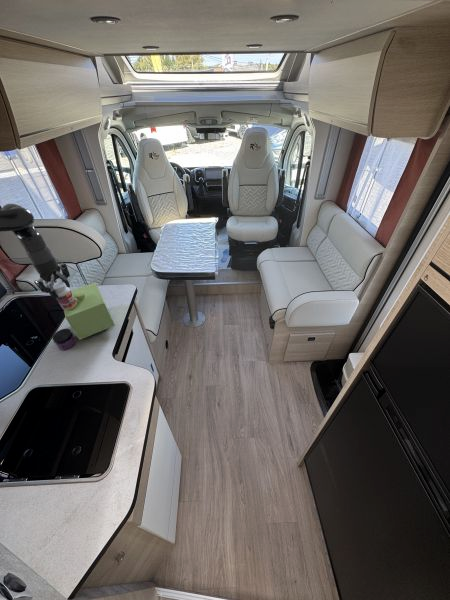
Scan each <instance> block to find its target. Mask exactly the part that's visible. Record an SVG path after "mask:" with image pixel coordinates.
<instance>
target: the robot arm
mask: <svg viewBox="0 0 450 600" xmlns="http://www.w3.org/2000/svg"><path fill="white" fill-rule="evenodd" d="M34 222H35V217H34V215H33V213H32V212H31V211H30V210H29V209H27V208H25V207H24V206H21V205H19V204H16V203H7V204H5V205H3V206H2V207H1V209H0V232H12V233H13V235H15V237H16V238H17V241H18V242H19V243H20V245H21V247H22V248H23V250H24V251H25V252H24V253H26V256H27V258H28V260H29V261H30V263H31V264H32V266H33V268H34V269H35V271H36V272H37V274H38V275H39V278H38V279H37V280H36V279H35V280H34V281H33V283H34V284H35V286H36V287H37V288H38V289H39V290H40V291H41V292H42V293H45V294H49V296H50V297H52V298H55V299H56V298H57V297H58V295H57V294H56V292H55V290H53V286H54V284H55V282H56V281H57V280H59V279H60V281H61V282H64V283H65V284H66V286H67V287H68V288H69V289H70V288H71V284H70V282H69V277H71V274H70V271H69V269H68V266H67V264H66V263H62V262H60V263H58V261H57V260H56V258H55V256H54V254H53V252H52V250H51V249H50V248H49V246H48V244H47V243H46V241H45V239H44V238H43V236H42V235H41V233H40V232H39V231H38V230H37V229H36V228H35V226H34Z"/></svg>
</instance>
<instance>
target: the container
mask: <svg viewBox="0 0 450 600" xmlns="http://www.w3.org/2000/svg"><path fill="white" fill-rule="evenodd" d="M70 291H71V293H72V294H73V296H74V298H75V300H76V302H77V304H76V306H75V307H73V308H72V309H68V310H65V309H63V313H64V316H65V317H64V318H65V319H66V321H67V323H68V324H69V325H70V328H71V329H72V330H73V333H74V335H76V338H78V340H79V341H80V340H83V339H85V338H88V337H90V336H92V335H95V334H97V333H101V332H102V331H105V330H108V329H110V328H112V327H114V326H116V324H115V322H114V320H113V317H112V315H111V313H110V311H109V309H108V307H107V304H106V301H105V299H104V297H103V295H102V293H101V291H100V288H99V286H98V285H97V282H92V283H89V284H86V285H83V286H80V287H77V288H74V289H70Z"/></svg>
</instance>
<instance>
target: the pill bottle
mask: <svg viewBox="0 0 450 600" xmlns="http://www.w3.org/2000/svg"><path fill="white" fill-rule="evenodd" d="M53 290H55V292H56V294H57V295H58V297H57V298H55V299H56V300H57V303H58V304H59V305H60V307H61V308H62V310H64V309H65V310H68V309H72V308H73V307H75V306H76V304H77V302H76V300H75V298H74V296H73V294H72V293H71V289H70V288H68V287H67V286H66V284H65V283H64V282H62V281H56V282H54V286H53Z"/></svg>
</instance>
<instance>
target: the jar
mask: <svg viewBox="0 0 450 600" xmlns="http://www.w3.org/2000/svg"><path fill="white" fill-rule="evenodd" d="M53 342H54V341H53ZM77 342H78V339H77V336H75V333H74V332H72V337H71V338H70V339H69V340H68V341H66V342H64V343H60V344H58V343H55V342H54V344H55V346H56V347H57V348H58V350H60V351H68V350H70V349H72V348H73V347H75V345H76V344H77Z"/></svg>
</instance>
